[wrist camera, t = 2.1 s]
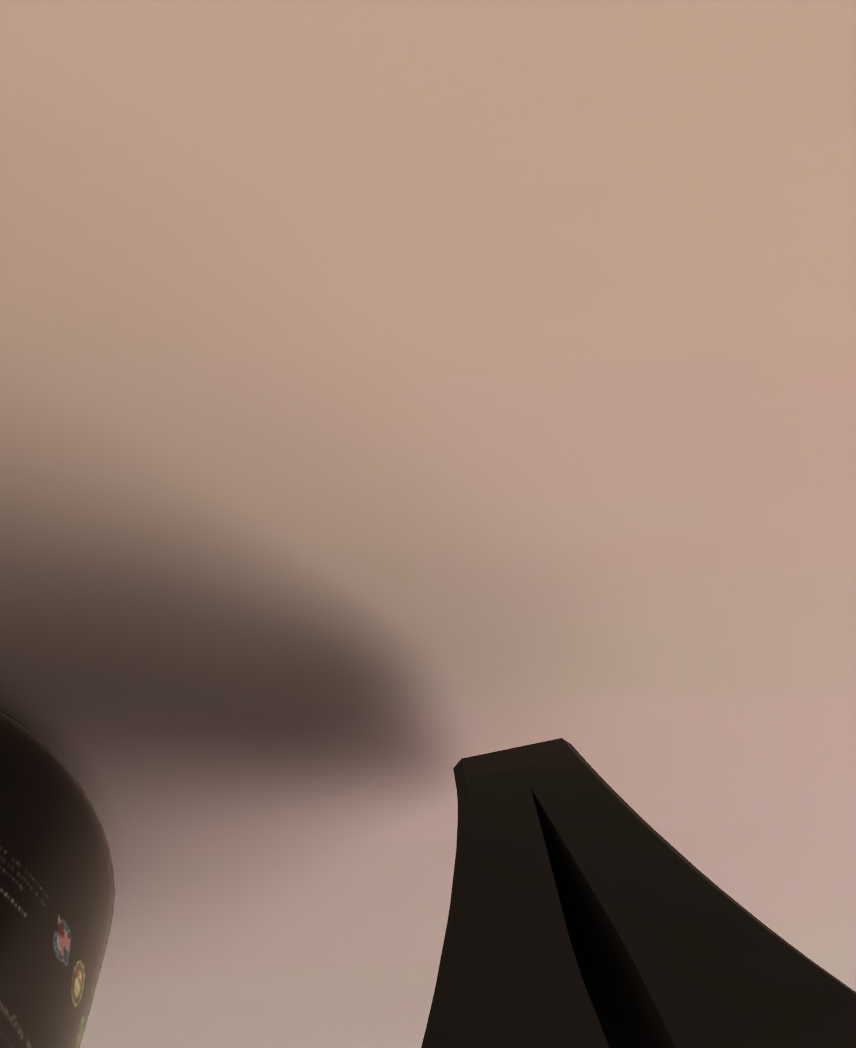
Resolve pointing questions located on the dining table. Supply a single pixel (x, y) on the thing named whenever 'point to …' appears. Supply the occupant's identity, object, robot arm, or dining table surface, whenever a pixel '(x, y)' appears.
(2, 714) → the supplement bottle
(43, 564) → the dining table surface
